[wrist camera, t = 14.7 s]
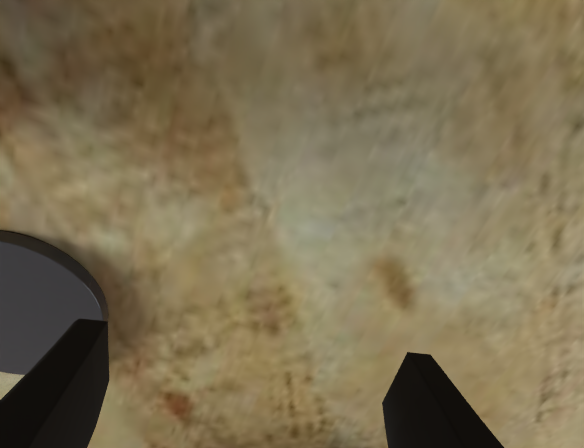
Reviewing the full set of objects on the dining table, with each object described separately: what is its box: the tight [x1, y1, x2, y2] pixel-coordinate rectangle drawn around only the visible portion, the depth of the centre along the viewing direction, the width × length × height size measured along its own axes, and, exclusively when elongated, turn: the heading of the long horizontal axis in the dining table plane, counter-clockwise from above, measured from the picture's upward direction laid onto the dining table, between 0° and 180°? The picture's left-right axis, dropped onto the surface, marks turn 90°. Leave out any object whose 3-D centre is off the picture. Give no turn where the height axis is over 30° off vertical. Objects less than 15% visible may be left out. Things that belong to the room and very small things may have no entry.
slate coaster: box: [0, 231, 108, 375], centre depth 22 cm, size 9×9×1 cm
